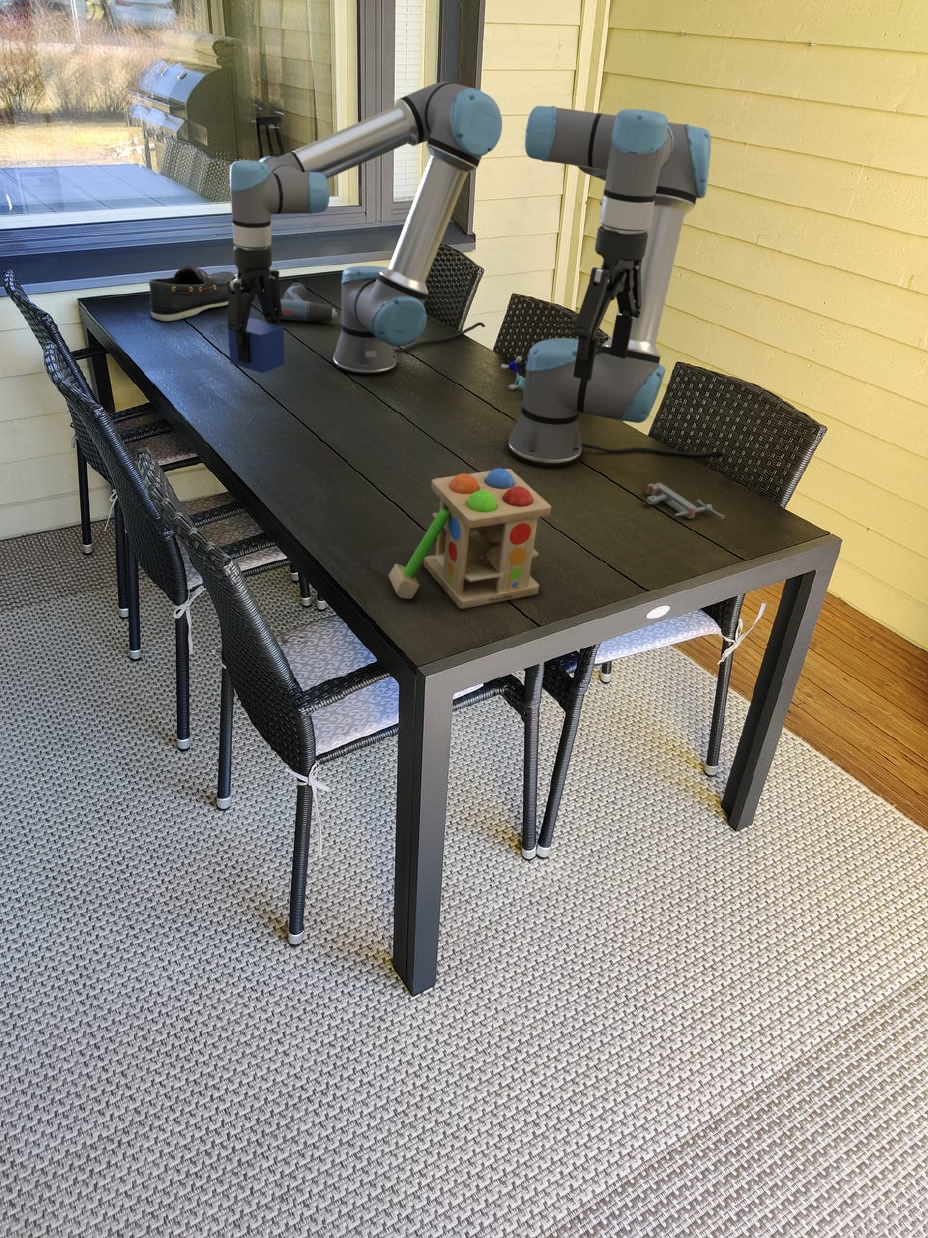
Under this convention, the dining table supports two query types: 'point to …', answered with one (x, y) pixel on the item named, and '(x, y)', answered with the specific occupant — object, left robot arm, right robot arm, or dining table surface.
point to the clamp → (657, 495)
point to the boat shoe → (188, 293)
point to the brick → (260, 346)
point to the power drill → (304, 306)
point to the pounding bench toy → (479, 539)
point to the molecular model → (519, 378)
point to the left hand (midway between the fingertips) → (256, 356)
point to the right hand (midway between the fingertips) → (600, 367)
